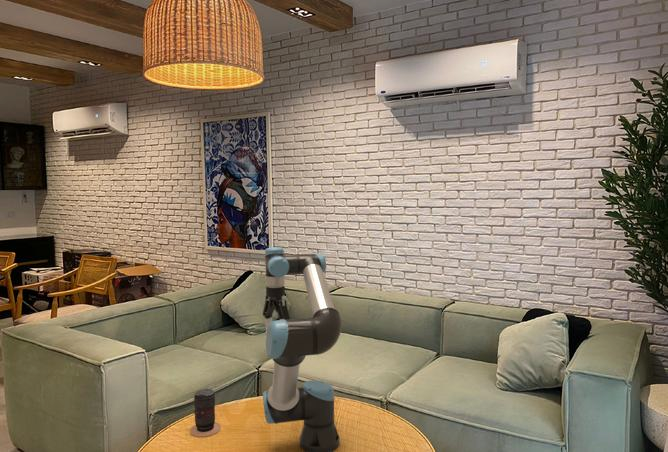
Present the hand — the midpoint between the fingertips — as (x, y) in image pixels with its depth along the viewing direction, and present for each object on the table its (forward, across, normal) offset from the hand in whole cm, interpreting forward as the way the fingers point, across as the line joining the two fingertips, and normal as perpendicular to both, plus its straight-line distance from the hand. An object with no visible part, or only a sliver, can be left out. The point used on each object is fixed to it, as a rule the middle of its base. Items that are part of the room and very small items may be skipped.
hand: (276, 337), depth 202 cm
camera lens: (+36, +14, +26) cm, 47 cm away
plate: (+37, +14, +26) cm, 47 cm away
